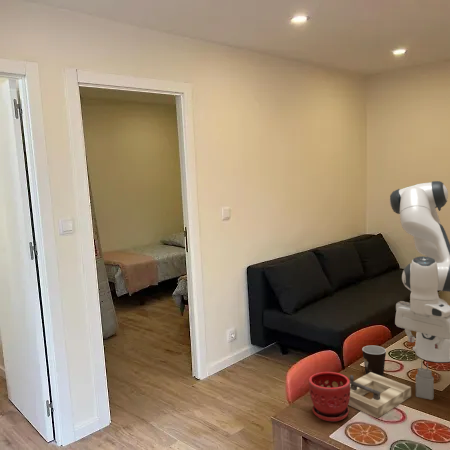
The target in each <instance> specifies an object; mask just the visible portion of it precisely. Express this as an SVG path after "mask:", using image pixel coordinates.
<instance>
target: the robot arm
mask: <svg viewBox="0 0 450 450" xmlns="http://www.w3.org/2000/svg"><path fill="white" fill-rule="evenodd" d="M448 199H449V191H448V189H447V187H446V185H445V184H444V182H443V181H440V180H439V181H438V180H433V181H431V182H423V183H416V184H415V185H410V186H407V187H404V188H398V189H395V190H393V191H392V192H391V193H390V195H389V205H390V207H391V209H392V212H394V213H395V214H397V215H399V218H400V219H399V220H400V224H401V228H402V229H403V230H404V231H405V232H406V233H407V234H408V235H410V236H412V237H413V241H414V248H415V251H417V252H418V253H419V254H421V255H422V256H415V257H414V258H413V259H412V260H411V263H409V264H407V265H406V266H405V267H404V268H403V270H402V274H401V281H402V283H403V286H404V287H405V288H406V289H408V290H409V291H410V296H409V299H410V300H409V301H404V300H400V301H397V302H396V304H395V311H396V312H395V318H394V325H396V327H397V328H401V329H404V333H405V334H406V336H407V338H408V339H407V340H408V342H409V343H414V342H415V345H414V346H412V350H413V351H414V352H415V355H416V356H417V357H418V358H420V359H422V360H425V361H427V362H434V363H450V305H449V303H448V302H447V301H446V300H444V299H443V298H441V297H439V292H438V291H442V292H450V240H449V237H448V234H447V233H446V230H445V228H444V226H443V225H442V224H441V221H440V217H439V213H438V212H440V211H441V210H442V208H443V207H444V206H446V204H447V202H448ZM437 210H438V212H437ZM412 331H413V332H416V334H415V335H413V334H412Z"/></svg>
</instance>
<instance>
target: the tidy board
mask: <svg viewBox="0 0 450 450" xmlns="http://www.w3.org/2000/svg"><path fill="white" fill-rule="evenodd" d="M354 379H355V378H354V375H352V374H351V375H349V380H350V399H349V403H348V406H349V407H352V408H354V409H356V410H358V411H360V412H363V413H365V414H366V415H368V416H371V417H373V418H376V419H379V418H380V417H382V416H383V415H385V414H387V413H388V412H389V411H391V410H392V409H394V408H396V407H397V406H399V405H400V404H403V402H405V401H406V400H408V399H410V398H411V397H412V386H410V385H407V384H404V383H401V382H398V381H396V380H394V379H390V378H387V377H385V376H384V375H383V376H380V375H377V374H374V373H372V372H370V373H368V374H366V373H365V374H364V375H362V376H361V377H359V378H357V379H355V380H354ZM369 393H371V394H372V398H367V397H366V395H367V394H369Z"/></svg>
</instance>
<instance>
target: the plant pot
mask: <svg viewBox="0 0 450 450" xmlns="http://www.w3.org/2000/svg"><path fill="white" fill-rule="evenodd" d="M326 381H328V382H327V383H326ZM333 383H336V384H337V387H335V386H334V385H333ZM341 383H342V384H341ZM308 387H309V395H310V399H311V402H312V404H313V406H312V412H313V414H314V415H315V416H316V417H317V418H318V419H320V420H323V421H326V422H340V421H342V420H343V419H346V418H347V417H348V415H349V413H350V409H349V407H348V406H349V405H348V403H349V399H350V378H349V377H348V376H346V375H344V374H343V373H339V372H335V371H334V372H333V371H322V372H321V371H320V372H316V373H313V375H310V377H309V379H308Z"/></svg>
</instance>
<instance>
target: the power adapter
mask: <svg viewBox="0 0 450 450" xmlns="http://www.w3.org/2000/svg"><path fill="white" fill-rule="evenodd" d="M420 365H421V366H420V367H418V368H417V373H416V375H415V397H417V398H419V399H420V398H421V399H426V400H430V401H431V400H432V401H433V400H434V393H435V392H434V390H435V389H434V381H435V379H434V376H433V374H432V372H433V371H432V370H431V369H429V363H426V368H424V367H423V362H421V363H420Z"/></svg>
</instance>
